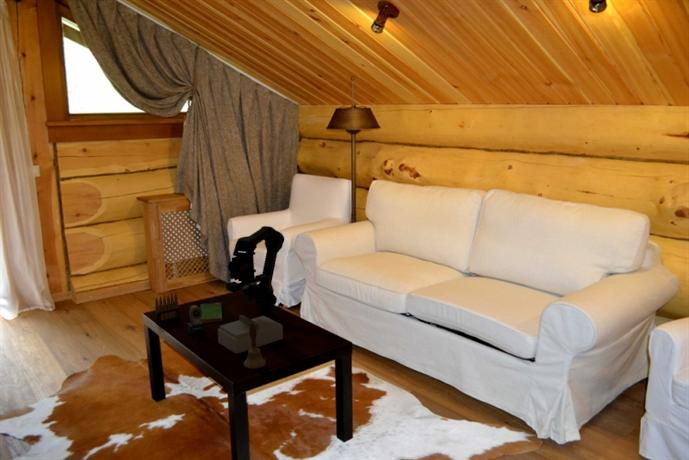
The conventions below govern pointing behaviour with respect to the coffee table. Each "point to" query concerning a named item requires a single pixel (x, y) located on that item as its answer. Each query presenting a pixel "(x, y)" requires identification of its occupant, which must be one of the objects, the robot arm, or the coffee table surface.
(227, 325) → the lid
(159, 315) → the ammunition clip
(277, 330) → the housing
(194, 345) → the coffee table surface
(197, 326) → the watch
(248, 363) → the hand bell
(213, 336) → the coffee table surface
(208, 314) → the game box
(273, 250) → the robot arm
